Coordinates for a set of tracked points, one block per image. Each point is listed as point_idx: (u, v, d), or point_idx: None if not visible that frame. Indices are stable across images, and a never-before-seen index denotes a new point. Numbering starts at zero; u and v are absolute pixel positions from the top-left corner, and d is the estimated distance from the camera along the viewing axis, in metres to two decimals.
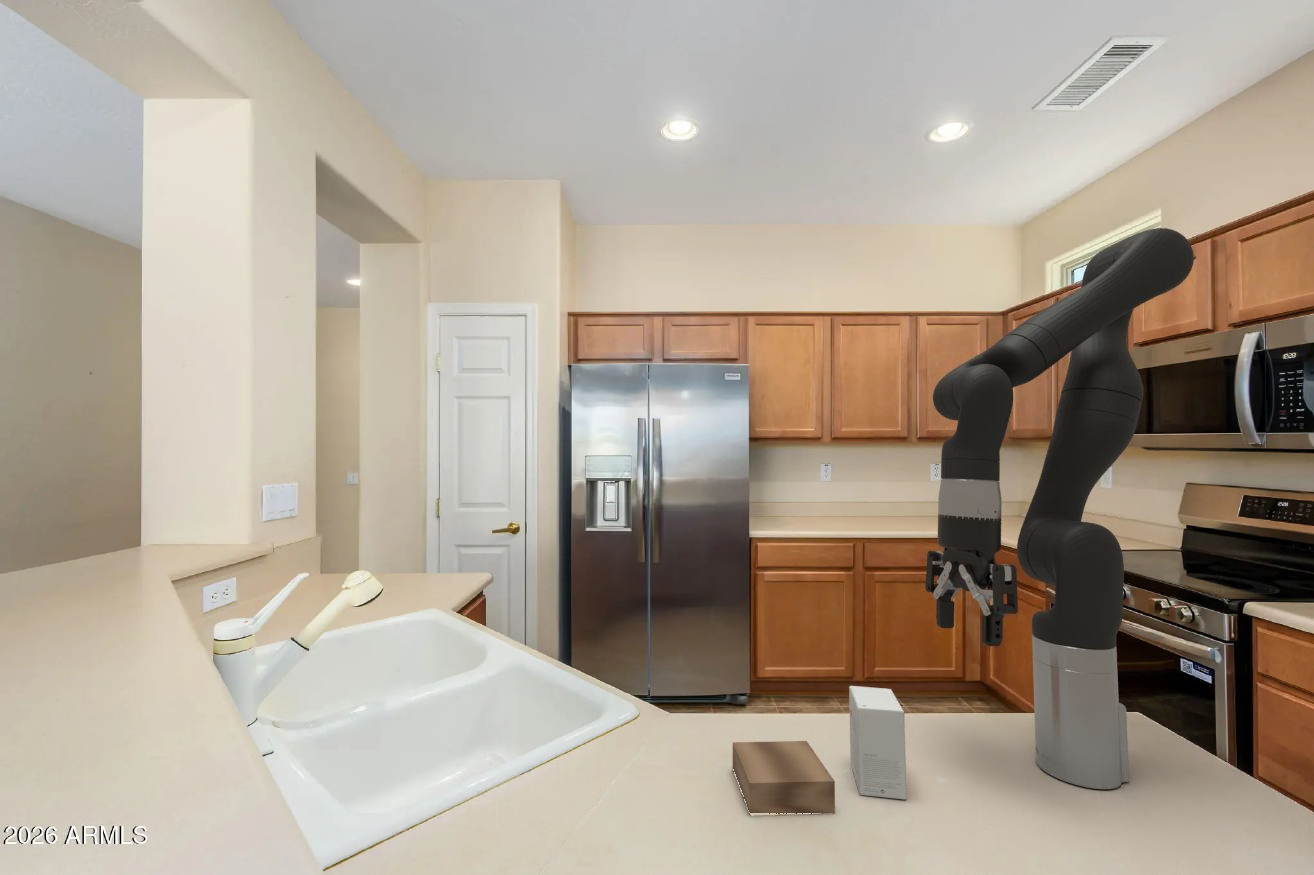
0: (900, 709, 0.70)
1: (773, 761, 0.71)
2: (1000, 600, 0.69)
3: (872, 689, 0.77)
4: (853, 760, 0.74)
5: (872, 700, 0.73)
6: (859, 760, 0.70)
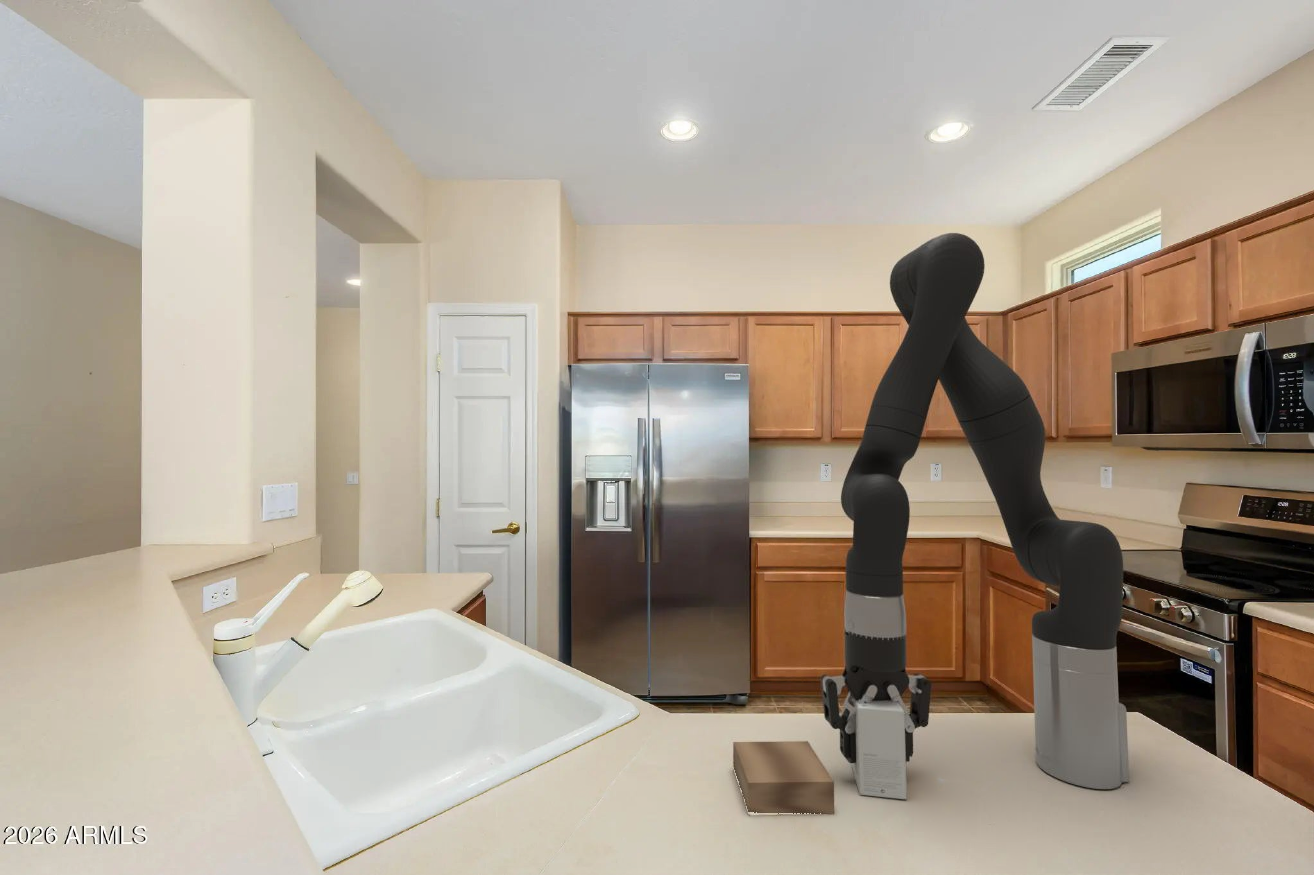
0: (900, 709, 0.70)
1: (773, 761, 0.71)
2: (928, 714, 0.73)
3: None
4: None
5: None
6: (859, 760, 0.70)
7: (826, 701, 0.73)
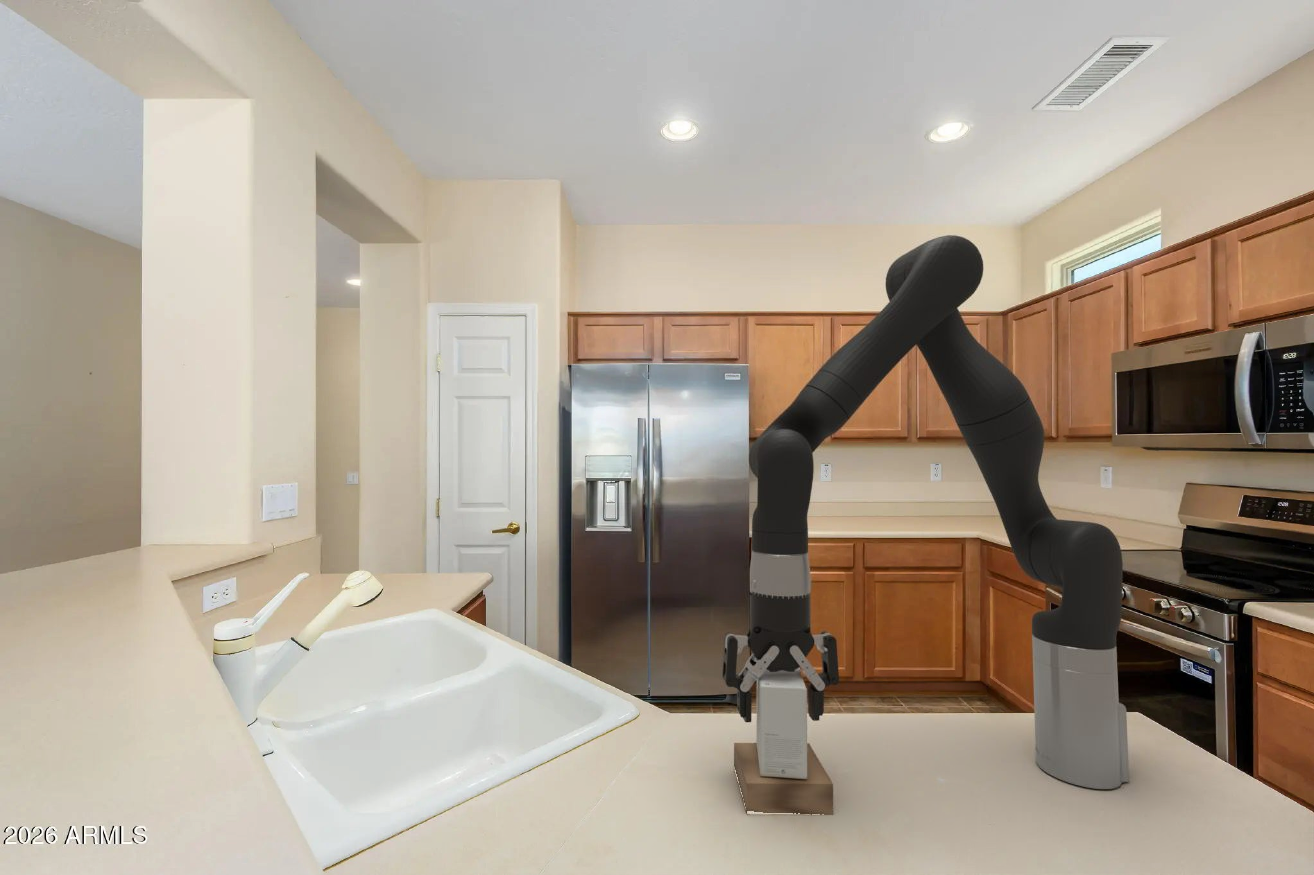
0: (803, 686, 0.68)
1: None
2: (838, 671, 0.71)
3: None
4: (757, 741, 0.72)
5: (777, 678, 0.70)
6: (760, 740, 0.67)
7: (725, 658, 0.71)
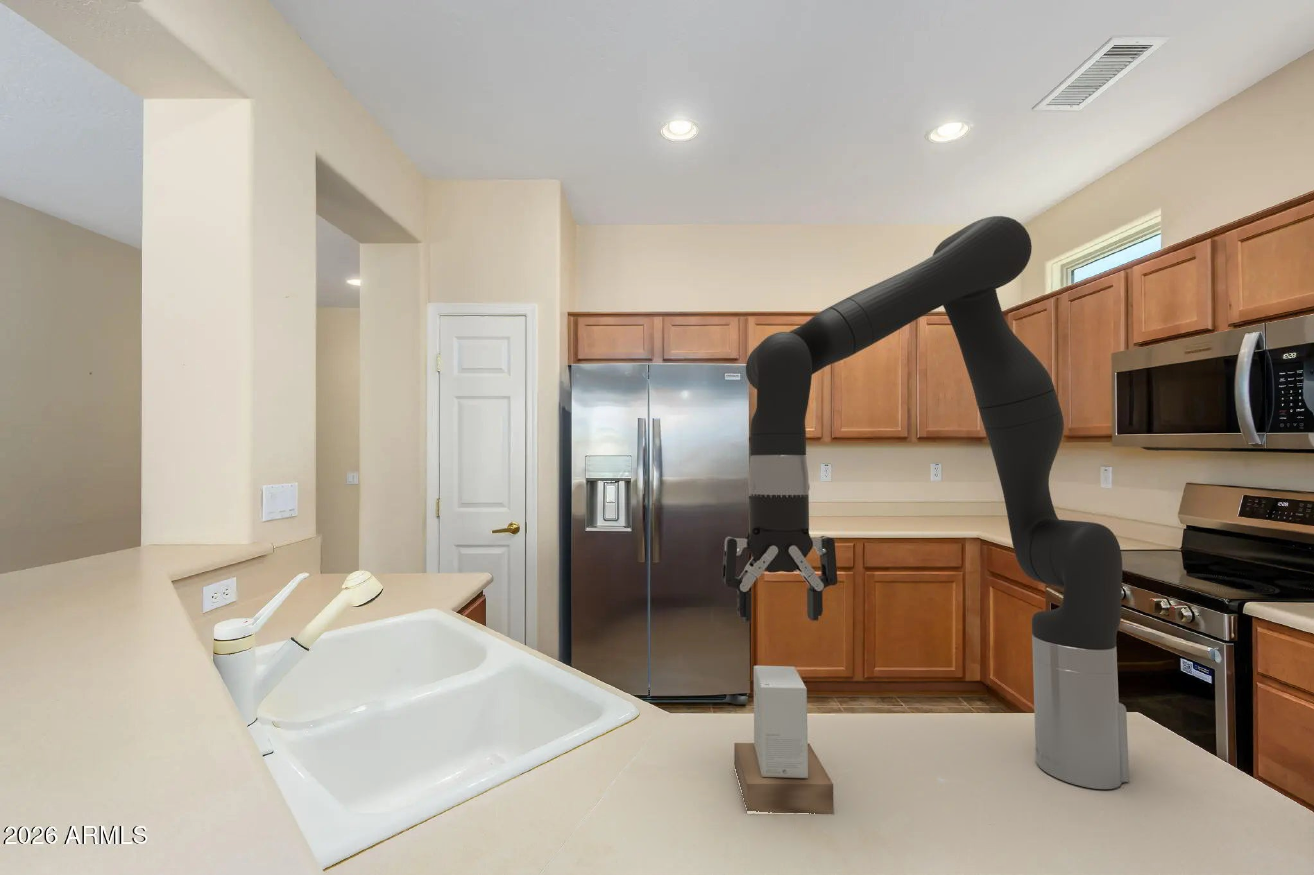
0: (803, 686, 0.68)
1: None
2: (836, 571, 0.72)
3: (776, 668, 0.74)
4: (756, 742, 0.72)
5: (775, 678, 0.71)
6: (761, 741, 0.67)
7: (725, 560, 0.72)
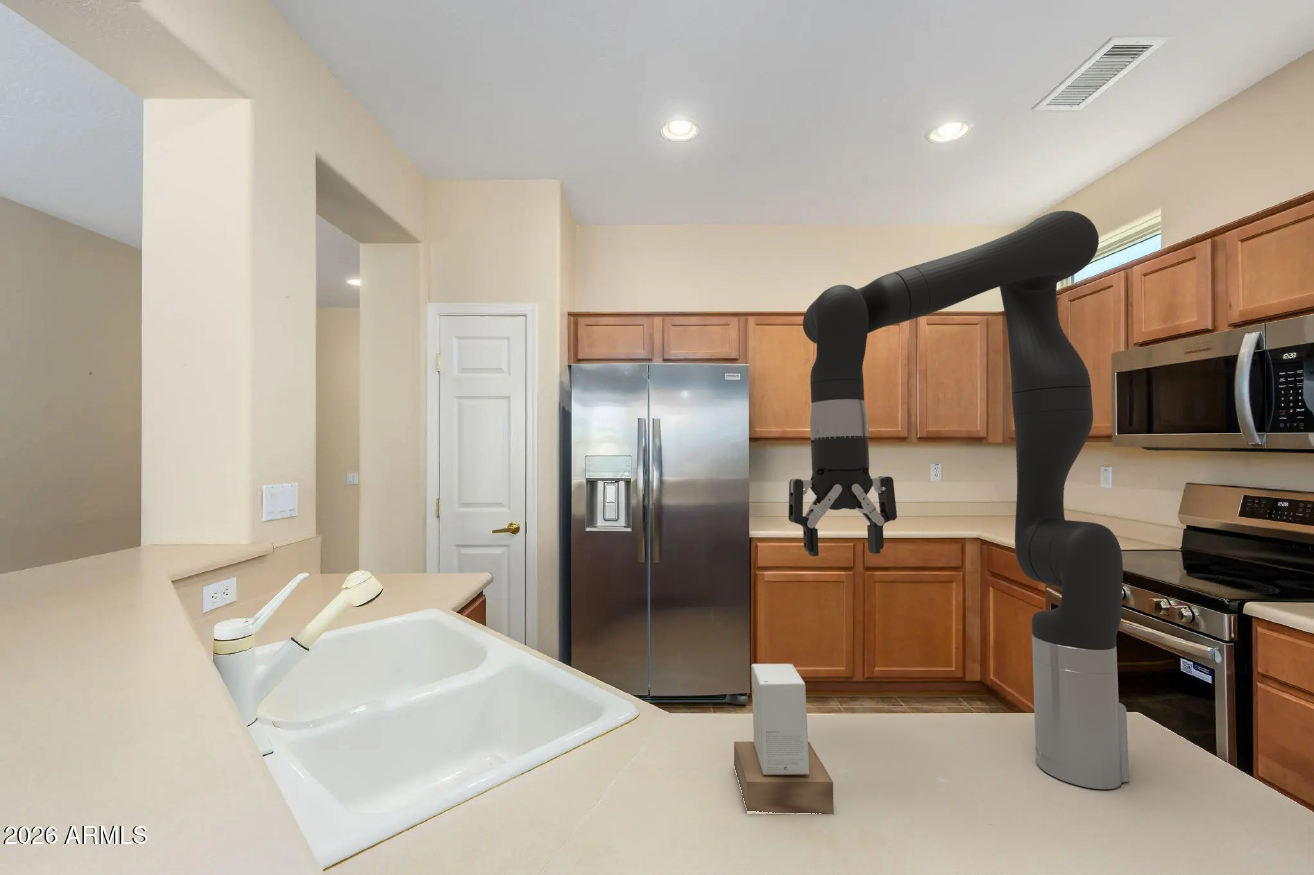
0: (801, 682, 0.68)
1: None
2: None
3: (774, 665, 0.75)
4: (756, 740, 0.72)
5: (774, 675, 0.71)
6: (762, 738, 0.67)
7: (792, 499, 0.77)
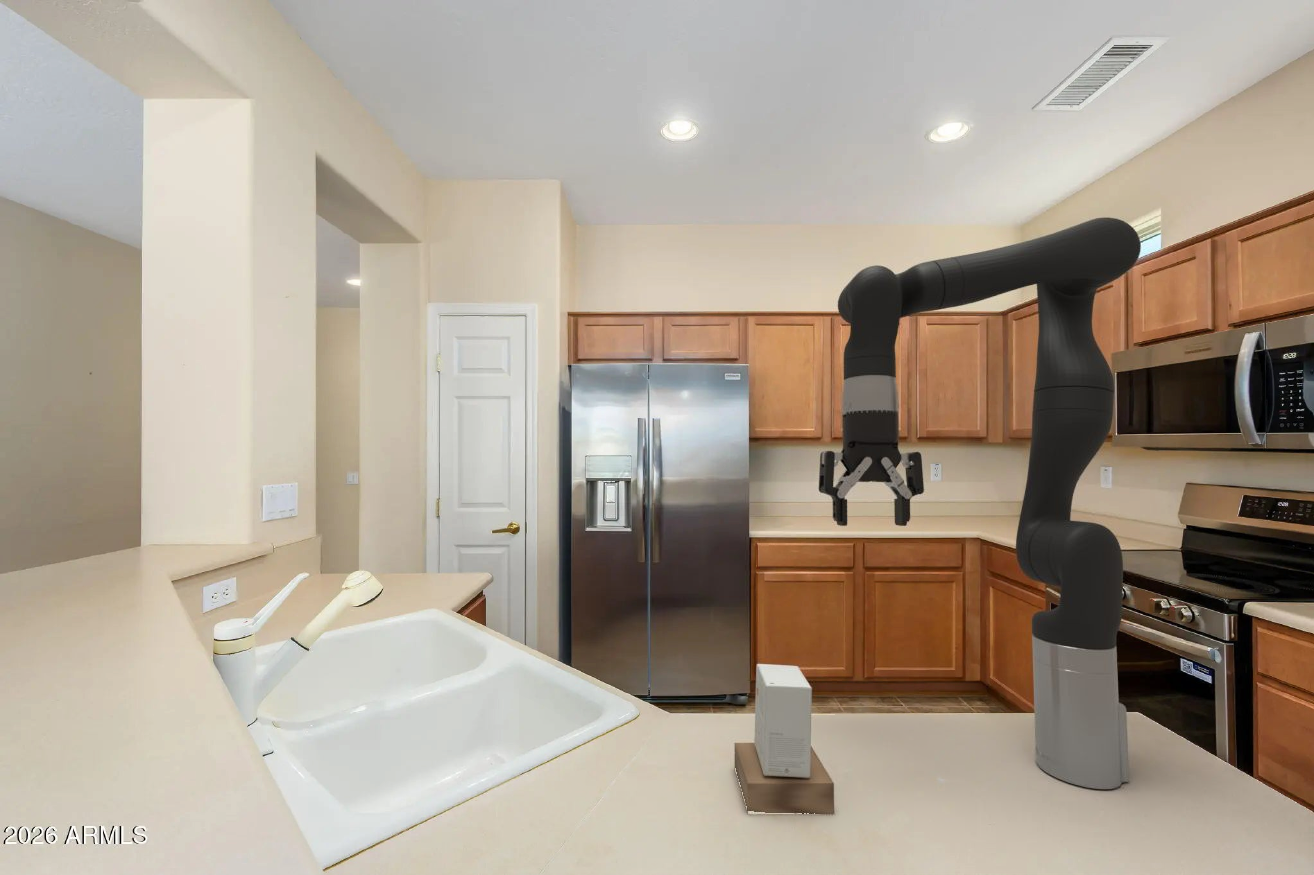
0: (808, 685, 0.68)
1: None
2: None
3: (779, 666, 0.74)
4: (758, 740, 0.72)
5: (780, 677, 0.70)
6: (765, 739, 0.67)
7: (823, 470, 0.80)
